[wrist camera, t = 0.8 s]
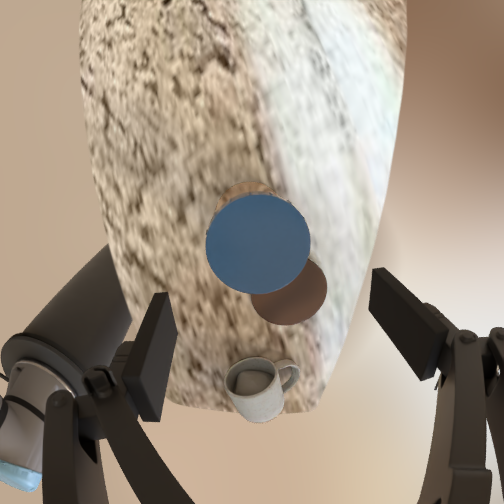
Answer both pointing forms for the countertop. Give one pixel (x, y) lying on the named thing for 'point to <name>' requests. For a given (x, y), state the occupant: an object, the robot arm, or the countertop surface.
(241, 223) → the jar lid
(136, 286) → the countertop surface
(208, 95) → the countertop surface
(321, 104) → the countertop surface
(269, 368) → the ceramic mug
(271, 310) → the coaster
